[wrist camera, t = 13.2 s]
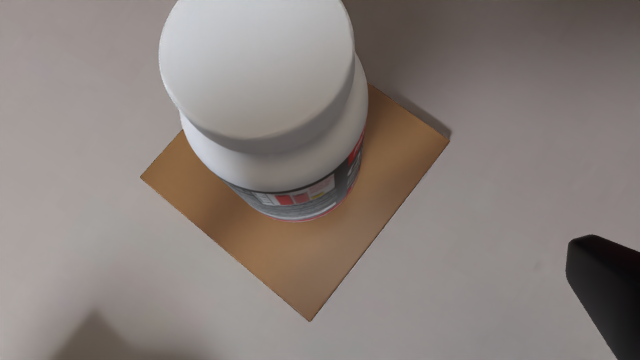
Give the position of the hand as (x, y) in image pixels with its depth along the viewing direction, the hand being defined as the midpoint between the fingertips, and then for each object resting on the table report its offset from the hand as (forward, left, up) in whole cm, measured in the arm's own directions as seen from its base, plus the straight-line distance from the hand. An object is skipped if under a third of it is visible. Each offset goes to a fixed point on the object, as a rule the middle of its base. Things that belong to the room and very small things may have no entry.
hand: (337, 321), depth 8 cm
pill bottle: (+5, -4, -11) cm, 13 cm away
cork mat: (+5, -4, -11) cm, 13 cm away
